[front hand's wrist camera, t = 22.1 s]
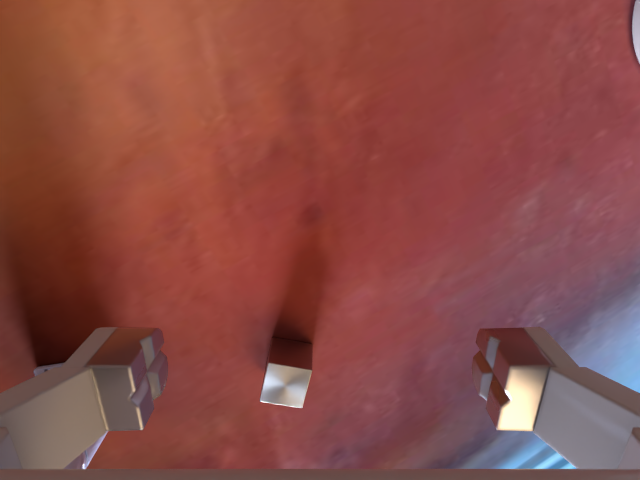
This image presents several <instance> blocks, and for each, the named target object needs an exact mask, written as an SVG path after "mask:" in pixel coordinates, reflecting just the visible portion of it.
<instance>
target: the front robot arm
mask: <svg viewBox="0 0 640 480" xmlns="http://www.w3.org/2000/svg"><path fill="white" fill-rule="evenodd" d="M632 36H633V44H634V49H635V52H636V56H637V58H638V61H639V63H640V0H636V1H635V6H634V11H633V20H632ZM163 344H164V339H163V334H162V331H161V330H160V329H159V328H132V327H120V328H119V327H100V328H97V329H95V330H94V331H93V333H92V334H91V335H90V336H89V337H88V338H87V339H86V340H85V341H84V342H83V343H82V345H81V346H80V347H79V348H78V349H77V350H76V351H75V352H74V353H73V354H72V355H71V356H70V358H69V359H68V360H67V361H66V362H65V363H64V364H63V365H62V366H61V367H54V368H52V369H50V370H47V371H45V372H43V373H41V374H39V375H37V376H35V377H33V378H31V379H29V380H27V381H25V382H23V383H21V384H19V385H17V386H14V387H12V388H10V389H8V390H6V391H4V392H2V393H0V480H640V393H638V392H636V391H634V390H632V389H630V388H627V387H625V386H623V385H621V384H619V383H617V382H615V381H613V380H611V379H609V378H607V377H605V376H603V375H601V374H599V373H597V372H595V371H593V370H590V369H588V368H586V367H579V366H578V365H577V364H576V363H575V362H574V361H573V360H572V359H571V358H570V356H569V355H568V354H567V353H566V352H565V351H564V350H563V349H562V348H561V347H560V346H559V344H558V343H557V342H556V341H555V340H554V339H553V338H552V337H551V336H550V335H549V334H548V332H547V331H546V330H545V329H543V328H541V327H522V328H487V329H480V330H479V332H478V334H477V339H476V344H477V345H478V347H479V349H480V351H479V352H478V353H477V354H476V355H475V356H474V357H473V363H472V375H473V381H474V385H475V388H476V390H477V392H478V394H479V395H480V396H482V397H483V398H484V399H486V400H487V405H486V410H487V412H488V413H489V415H490V417H491V419H492V421H493V423H494V425H495V427H496V429H497V430H518V431H534V432H533V433H535V434H536V435H537V436H538V437H539V438H541V439H542V440H543V441H544V442H545V443H547V444H548V445H549V446H550V447H551V448H553V449H554V450H555V451H556V452H558V453H559V454H560V455H561V456H562V457H564V458H565V459H566V460H567V461H568V462H570V463H571V464H572V465H573V466H574V467H576V468H577V469H63V468H64V467H66V466H67V465H68V464H69V463H71V462H72V461H73V460H74V459H75V458H77V457H78V456H79V455H80V454H81V453H83V452H84V451H85V450H86V449H87V448H89V447H90V446H91V445H92V444H94V443H95V442H96V441H97V440H98V439H100V438H101V437H102V436H103V435H104V434H106V431H122V430H143V429H144V427H145V425H146V423H147V421H148V419H149V417H150V415H151V413H152V412H153V410H154V405H153V400H154V399H156V398H157V397H158V396H160V395H161V394H162V392H163V390H164V388H165V385H166V381H167V376H168V362H167V357H166V356H165V355H164V354H163V353H162V352H161V351H160V349H161V347H162V345H163Z"/></svg>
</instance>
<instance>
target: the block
mask: <svg viewBox="0 0 640 480" xmlns="http://www.w3.org/2000/svg"><path fill="white" fill-rule="evenodd" d="M311 373H312V344H310V343H304V342H299V341H293V340H287V339H282V338H276V337H272V340H271V345H270V350H269V355H268V359H267V364H266V369H265V373H264V379H263V385H262V391H261V396H260V401H261V402H267V403H273V404H279V405H285V406H291V407H297V408H302V407H303V403H304V399H305V395H306V392H307V388H308V384H309V380H310V377H311Z"/></svg>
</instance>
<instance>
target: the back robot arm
mask: <svg viewBox="0 0 640 480" xmlns="http://www.w3.org/2000/svg"><path fill="white" fill-rule="evenodd" d="M63 364H64V363H59V364H53V365H47V366H40V367H37V368H36V369H35V370H34V374H35V376H37V375H39V374H41V373H43V372H45V371H47V370H50V369H52V368H54V367H61V366H62V365H63ZM107 432H108V431H106V434H107ZM106 434H104V435H103V436H102V437H101V438H100V439H98V440H97V441H96V442H95V443H94V444H92V445H91V446H90V447H89V448H87V449H86V450H85V451H84V452H83V453H81V454H80V455H79V456H78V457H77V458H75V459H74V460H73V461H72V462H71V463H69V464H68V465H67V466H66V467H64V468H63V469H86V467H87V466H88V464H89V462H90V461H91V459H92V457H93V456H94V454H95V452H96V451H97V449H98V447H99V446H100V444H101V442H102V440H103V439H104V437H105V435H106Z"/></svg>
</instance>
